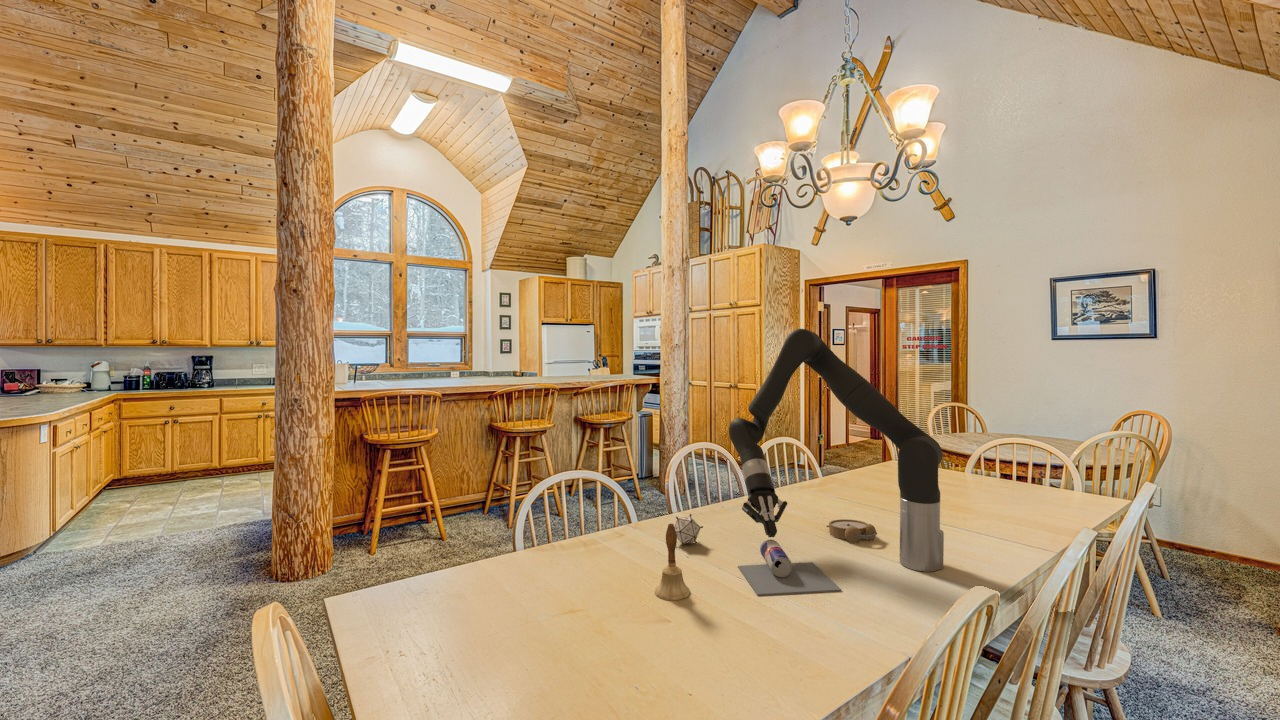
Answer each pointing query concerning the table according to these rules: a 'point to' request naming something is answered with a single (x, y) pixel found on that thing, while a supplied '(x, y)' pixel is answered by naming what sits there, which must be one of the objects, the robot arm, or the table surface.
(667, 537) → the hand bell
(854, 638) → the table surface
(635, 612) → the table surface
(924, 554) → the robot arm
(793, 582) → the slate mat
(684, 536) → the game die
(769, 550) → the energy drink
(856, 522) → the alarm clock
